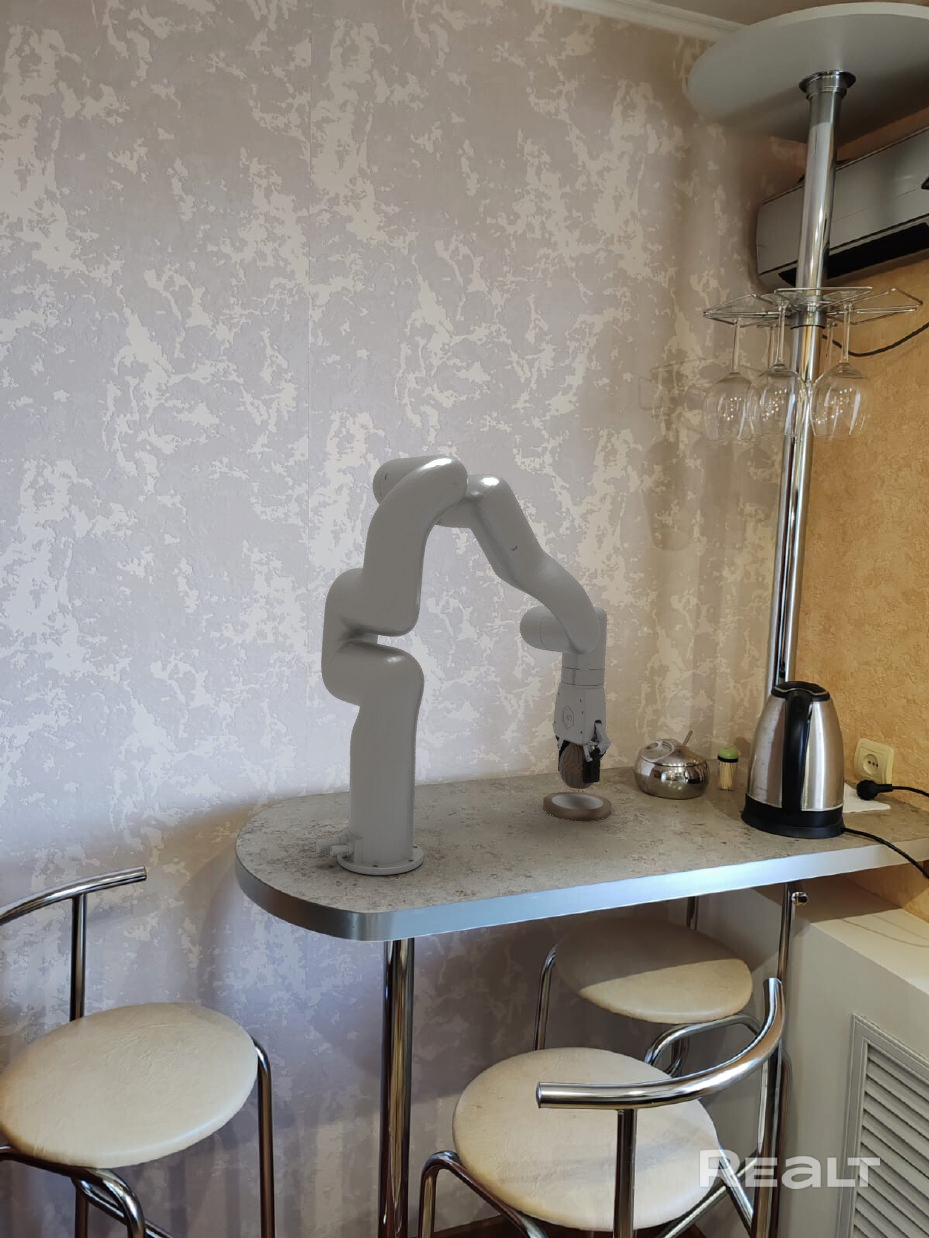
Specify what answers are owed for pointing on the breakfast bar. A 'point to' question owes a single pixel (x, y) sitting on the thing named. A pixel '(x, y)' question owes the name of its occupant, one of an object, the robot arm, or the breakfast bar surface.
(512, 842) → the breakfast bar surface
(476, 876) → the breakfast bar surface
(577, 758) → the vase
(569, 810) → the stand
